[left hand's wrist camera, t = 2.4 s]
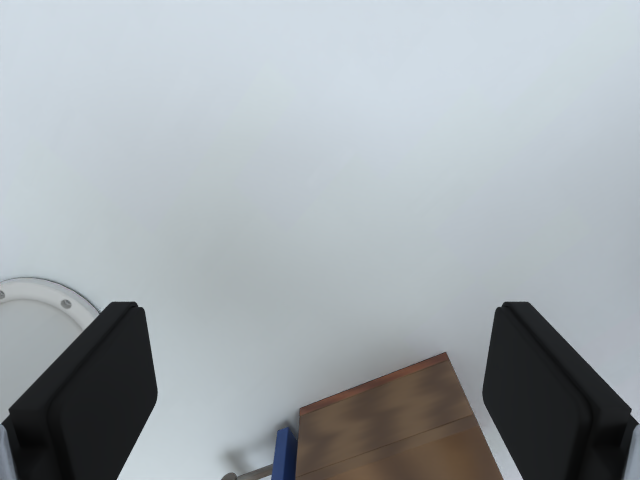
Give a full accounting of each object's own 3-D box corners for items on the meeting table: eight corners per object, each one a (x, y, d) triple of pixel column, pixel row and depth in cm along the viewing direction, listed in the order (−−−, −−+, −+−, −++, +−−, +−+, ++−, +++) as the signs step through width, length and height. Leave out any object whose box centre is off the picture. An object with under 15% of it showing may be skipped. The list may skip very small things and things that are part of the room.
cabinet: (345, 481, 44) (350, 572, 36) (299, 408, 41) (294, 490, 33) (482, 433, 42) (521, 519, 34) (445, 352, 39) (479, 425, 30)
